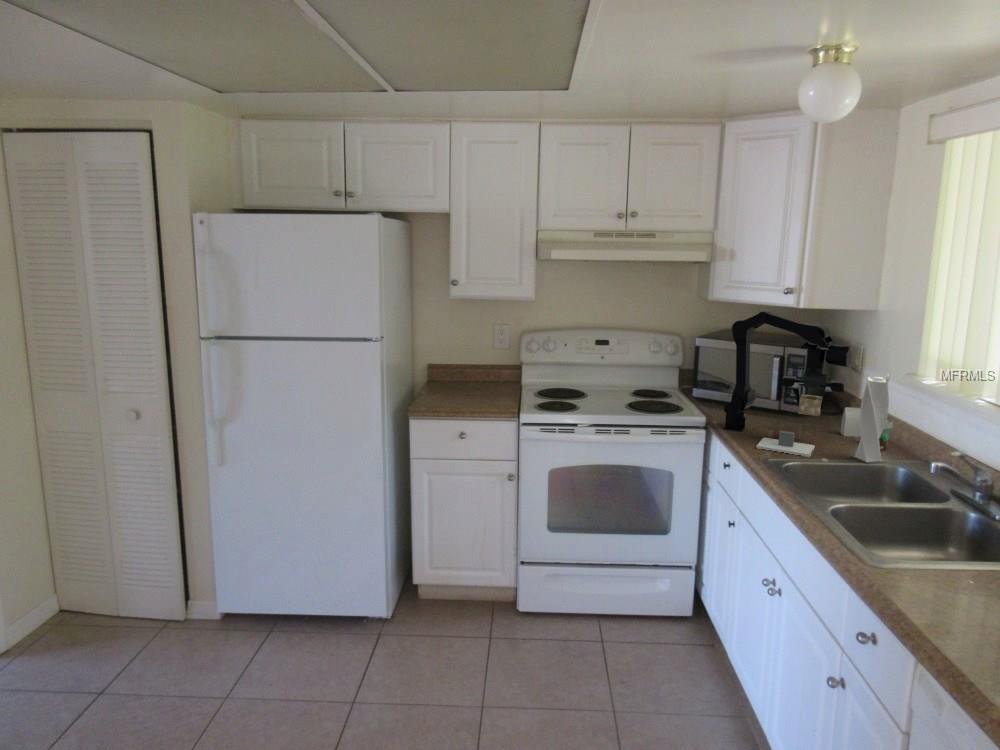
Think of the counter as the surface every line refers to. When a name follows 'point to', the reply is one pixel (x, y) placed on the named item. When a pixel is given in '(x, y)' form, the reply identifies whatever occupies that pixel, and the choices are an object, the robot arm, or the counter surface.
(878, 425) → the skyscraper
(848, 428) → the tea bag
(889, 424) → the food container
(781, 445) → the post stand
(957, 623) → the counter surface
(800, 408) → the beige open box
